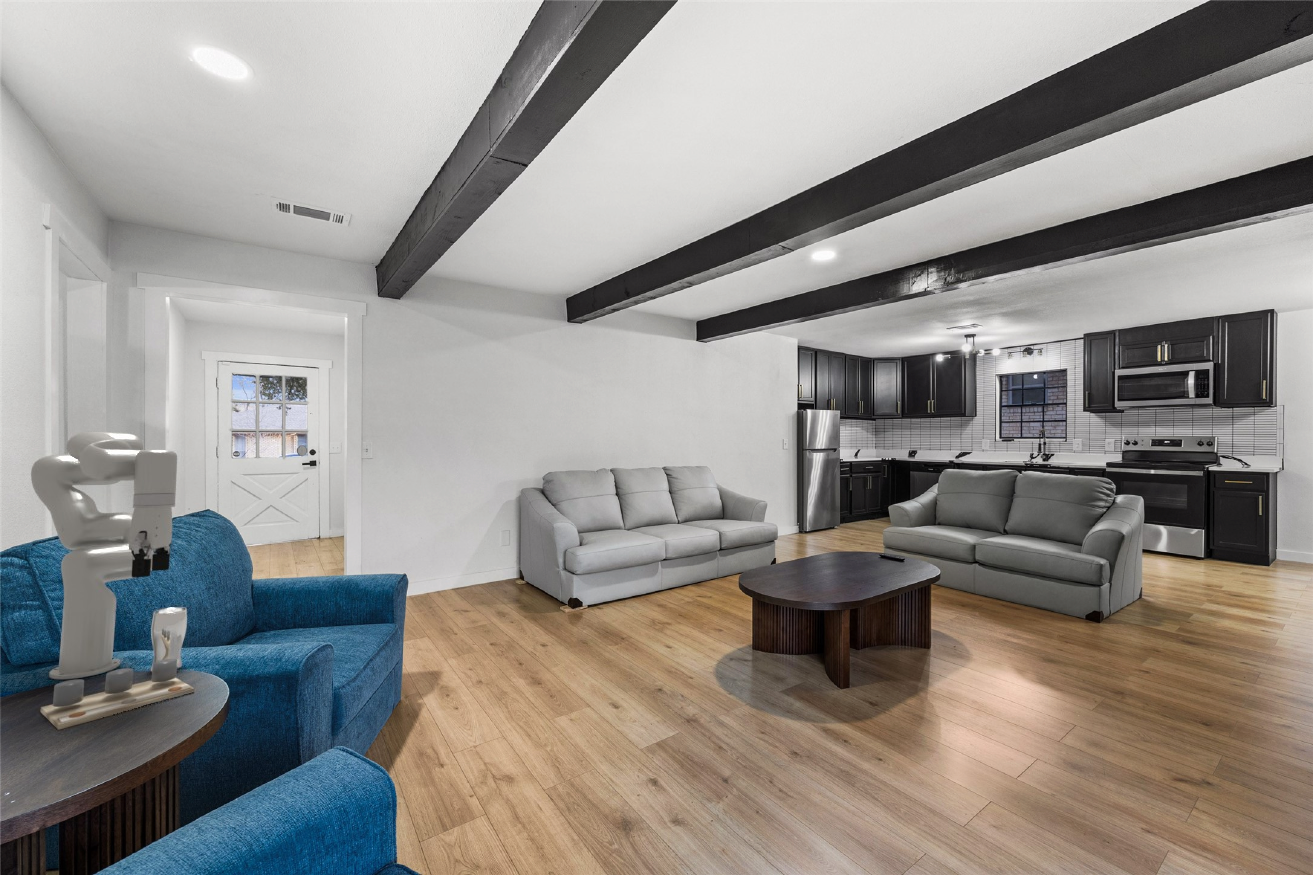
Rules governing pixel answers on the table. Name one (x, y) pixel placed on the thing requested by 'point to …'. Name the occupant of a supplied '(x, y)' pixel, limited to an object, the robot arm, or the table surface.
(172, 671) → the button
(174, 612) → the beer glass
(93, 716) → the button board
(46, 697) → the table surface
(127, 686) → the button middle
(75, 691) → the button
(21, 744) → the table surface
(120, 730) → the table surface
